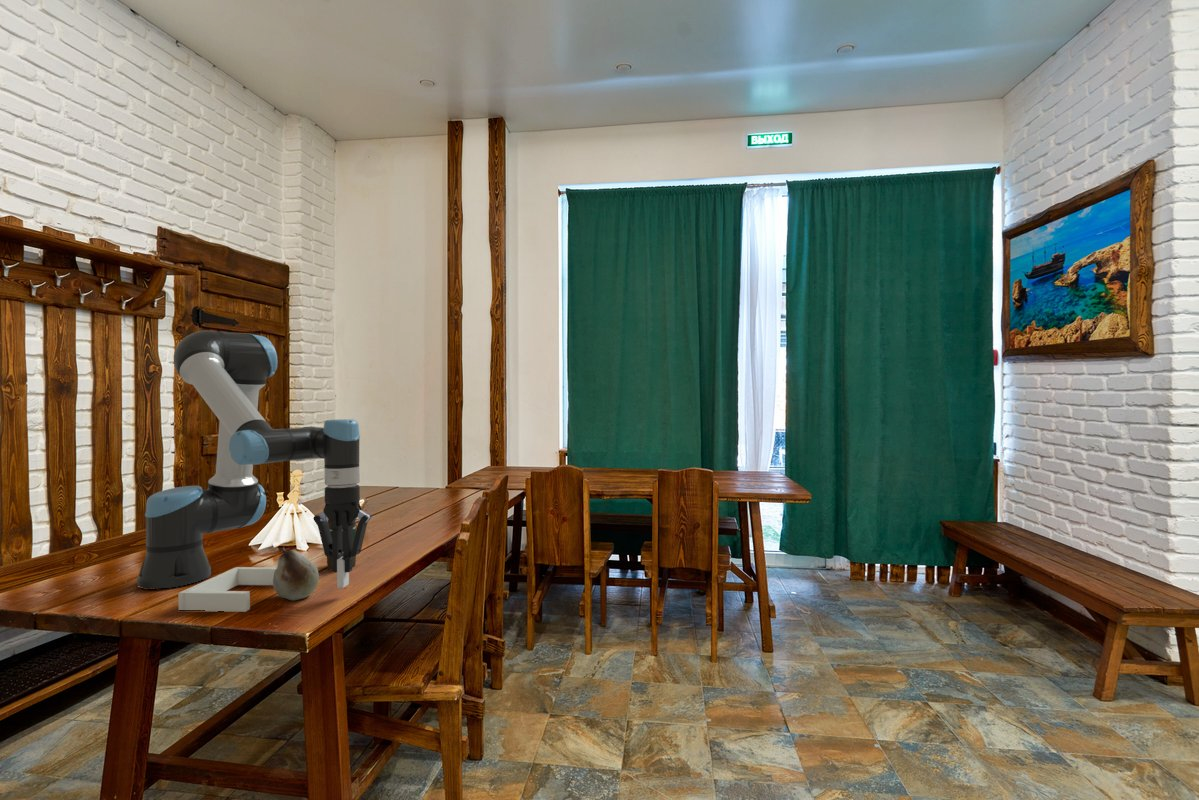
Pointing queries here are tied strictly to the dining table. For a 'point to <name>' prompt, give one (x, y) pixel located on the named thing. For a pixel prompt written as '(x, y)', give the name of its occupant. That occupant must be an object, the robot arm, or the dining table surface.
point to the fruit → (295, 576)
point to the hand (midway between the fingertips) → (343, 585)
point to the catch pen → (225, 590)
